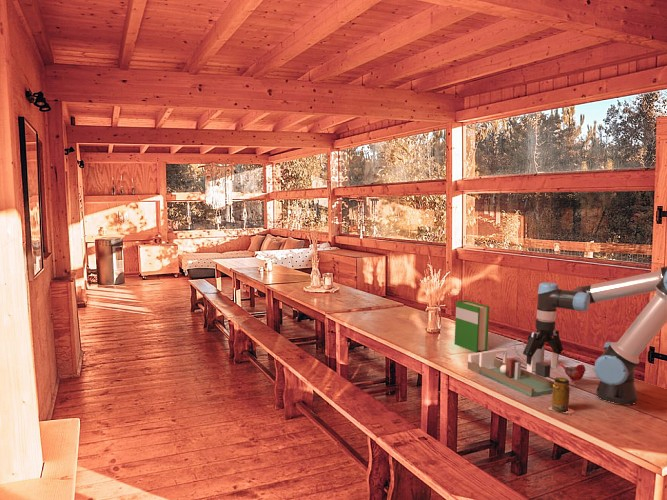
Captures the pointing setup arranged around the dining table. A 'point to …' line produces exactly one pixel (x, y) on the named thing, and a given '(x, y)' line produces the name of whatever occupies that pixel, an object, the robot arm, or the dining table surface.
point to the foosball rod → (540, 367)
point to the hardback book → (471, 325)
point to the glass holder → (537, 355)
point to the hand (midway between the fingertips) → (541, 369)
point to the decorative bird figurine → (574, 372)
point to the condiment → (560, 395)
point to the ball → (503, 369)
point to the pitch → (519, 382)
